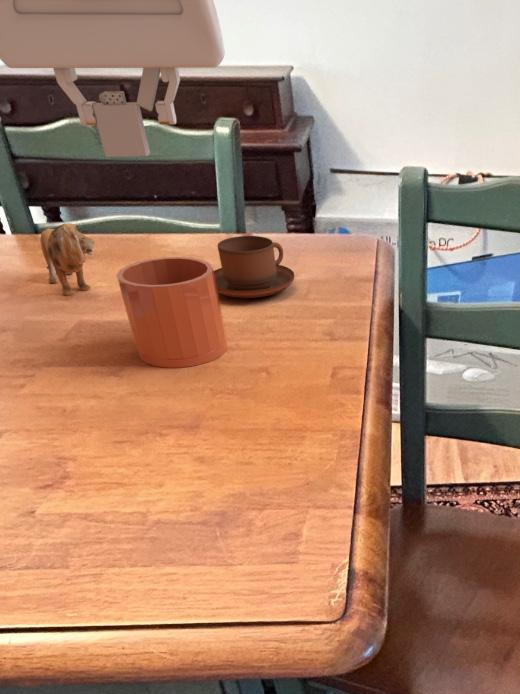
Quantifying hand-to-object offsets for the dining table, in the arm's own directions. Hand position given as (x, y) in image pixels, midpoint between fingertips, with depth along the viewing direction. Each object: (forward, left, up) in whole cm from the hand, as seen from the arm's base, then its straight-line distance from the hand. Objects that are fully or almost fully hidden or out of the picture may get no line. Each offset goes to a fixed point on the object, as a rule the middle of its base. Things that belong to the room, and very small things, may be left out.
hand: (130, 124), depth 73 cm
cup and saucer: (+7, +20, -23) cm, 31 cm away
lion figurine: (-18, +25, -23) cm, 38 cm away
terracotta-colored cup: (0, 0, -23) cm, 23 cm away
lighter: (0, 0, -3) cm, 3 cm away
